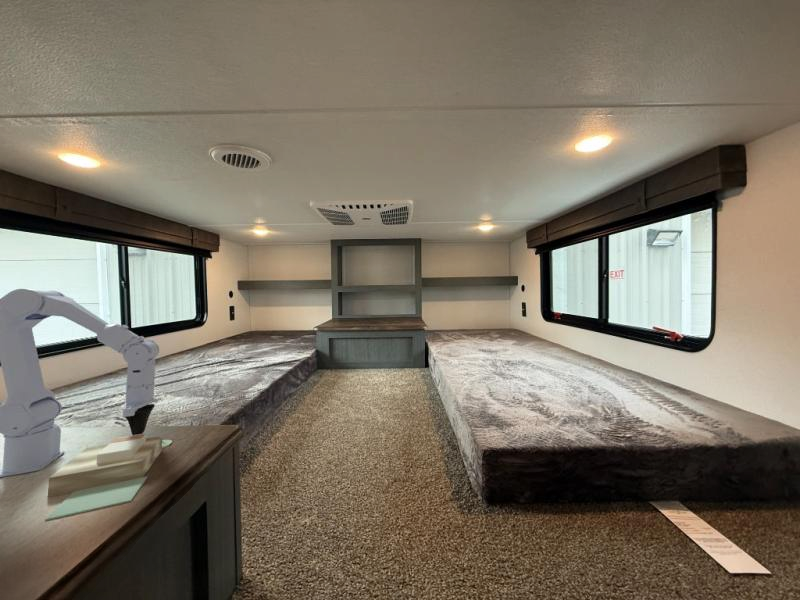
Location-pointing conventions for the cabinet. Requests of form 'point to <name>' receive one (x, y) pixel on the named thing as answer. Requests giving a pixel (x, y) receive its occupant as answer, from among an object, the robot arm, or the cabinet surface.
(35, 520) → the cabinet surface
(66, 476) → the cream piece
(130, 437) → the white striped box
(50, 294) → the robot arm
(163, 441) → the sign
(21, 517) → the cabinet surface
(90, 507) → the mat
